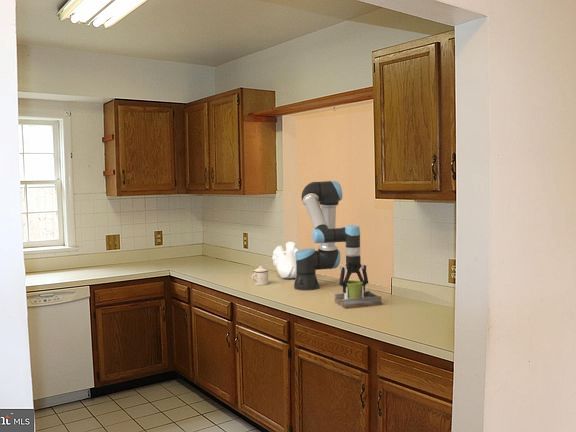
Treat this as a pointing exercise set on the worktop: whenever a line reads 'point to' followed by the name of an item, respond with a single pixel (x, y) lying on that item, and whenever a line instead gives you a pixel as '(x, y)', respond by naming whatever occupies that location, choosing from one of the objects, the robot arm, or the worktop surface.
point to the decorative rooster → (286, 260)
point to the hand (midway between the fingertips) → (354, 298)
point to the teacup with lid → (260, 276)
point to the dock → (358, 300)
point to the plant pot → (354, 289)
